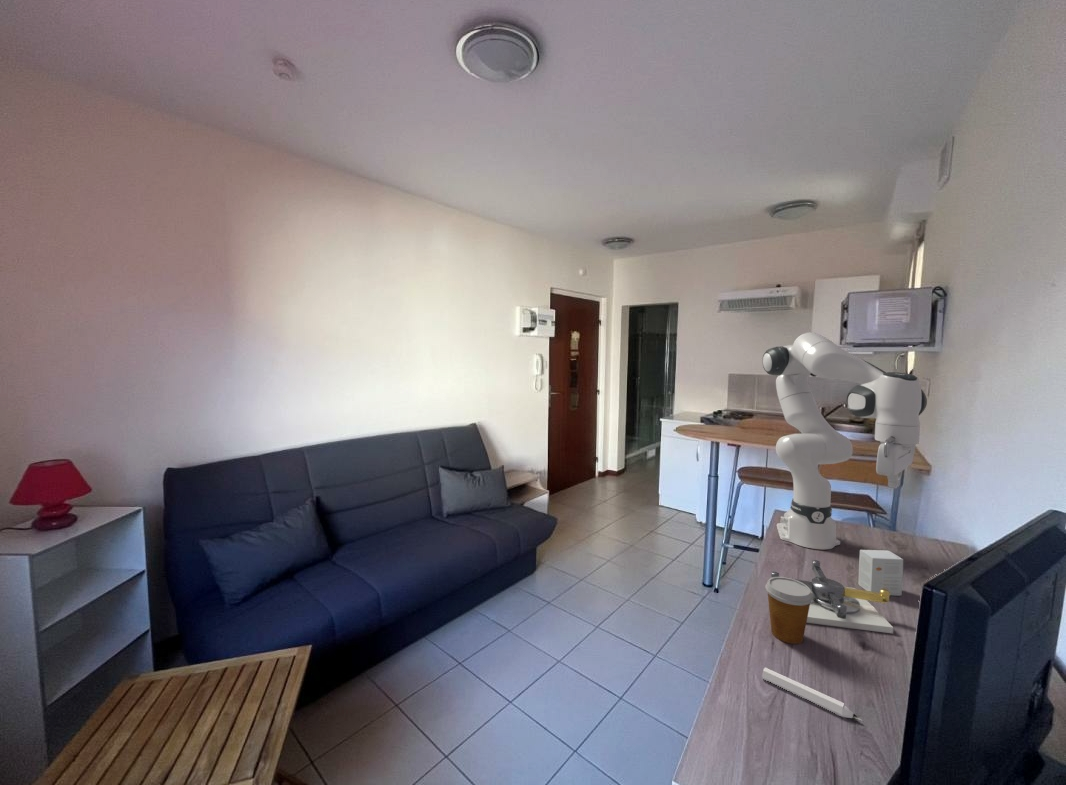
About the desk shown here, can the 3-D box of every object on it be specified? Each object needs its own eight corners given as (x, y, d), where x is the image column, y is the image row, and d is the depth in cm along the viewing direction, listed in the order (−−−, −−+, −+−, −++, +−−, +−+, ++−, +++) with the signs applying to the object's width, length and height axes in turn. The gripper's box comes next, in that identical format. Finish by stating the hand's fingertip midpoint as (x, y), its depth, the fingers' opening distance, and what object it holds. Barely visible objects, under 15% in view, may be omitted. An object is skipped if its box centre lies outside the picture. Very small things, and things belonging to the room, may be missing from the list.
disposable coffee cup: (819, 651, 94) (821, 599, 93) (772, 646, 95) (774, 594, 95) (800, 625, 103) (802, 577, 102) (758, 621, 105) (759, 574, 104)
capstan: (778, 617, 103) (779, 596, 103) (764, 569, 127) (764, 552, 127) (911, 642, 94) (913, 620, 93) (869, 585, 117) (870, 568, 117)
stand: (774, 584, 122) (775, 572, 122) (854, 593, 117) (855, 580, 117) (798, 621, 104) (798, 607, 104) (893, 633, 100) (893, 618, 99)
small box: (887, 585, 121) (889, 550, 120) (902, 596, 116) (904, 559, 115) (857, 584, 122) (859, 548, 121) (870, 595, 116) (872, 557, 116)
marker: (862, 729, 75) (762, 681, 86) (863, 718, 76) (765, 672, 87) (861, 722, 74) (761, 674, 85) (863, 710, 75) (764, 665, 86)
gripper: (902, 441, 101) (899, 497, 102) (921, 432, 114) (918, 483, 115) (869, 437, 106) (867, 491, 107) (891, 429, 119) (888, 478, 120)
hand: (893, 487), depth 111 cm, fingers closed
